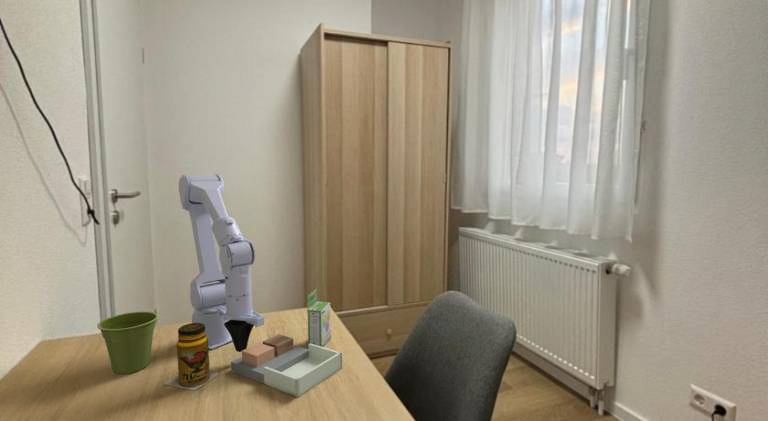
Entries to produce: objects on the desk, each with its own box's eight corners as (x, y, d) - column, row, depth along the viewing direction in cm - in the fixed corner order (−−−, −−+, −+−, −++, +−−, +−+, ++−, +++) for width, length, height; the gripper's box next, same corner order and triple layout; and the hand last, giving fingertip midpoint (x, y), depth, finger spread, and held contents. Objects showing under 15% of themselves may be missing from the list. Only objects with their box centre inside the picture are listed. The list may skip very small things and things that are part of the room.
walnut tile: (263, 351, 98) (262, 341, 98) (278, 343, 102) (278, 334, 102) (277, 356, 96) (277, 346, 95) (293, 348, 100) (293, 338, 99)
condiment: (195, 391, 85) (192, 334, 84) (162, 384, 87) (159, 330, 86) (219, 374, 92) (217, 321, 90) (188, 368, 94) (185, 318, 93)
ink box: (322, 348, 104) (321, 297, 103) (307, 347, 105) (306, 296, 103) (331, 337, 111) (330, 289, 109) (317, 336, 112) (316, 288, 110)
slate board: (231, 370, 93) (230, 361, 93) (278, 347, 105) (277, 340, 105) (264, 383, 87) (264, 374, 87) (310, 357, 99) (310, 349, 99)
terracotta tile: (242, 361, 93) (241, 350, 93) (259, 353, 97) (259, 342, 97) (257, 367, 90) (256, 356, 90) (274, 358, 95) (274, 347, 94)
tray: (264, 383, 87) (263, 367, 87) (310, 357, 99) (310, 343, 99) (297, 397, 82) (297, 379, 82) (342, 367, 94) (341, 352, 94)
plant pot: (169, 366, 96) (166, 319, 94) (109, 386, 87) (105, 334, 86) (151, 351, 104) (148, 307, 102) (94, 367, 95) (91, 320, 94)
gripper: (204, 293, 96) (207, 349, 97) (245, 303, 88) (247, 364, 90) (229, 285, 102) (232, 338, 103) (270, 294, 94) (272, 352, 96)
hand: (241, 349), depth 97 cm, fingers closed
